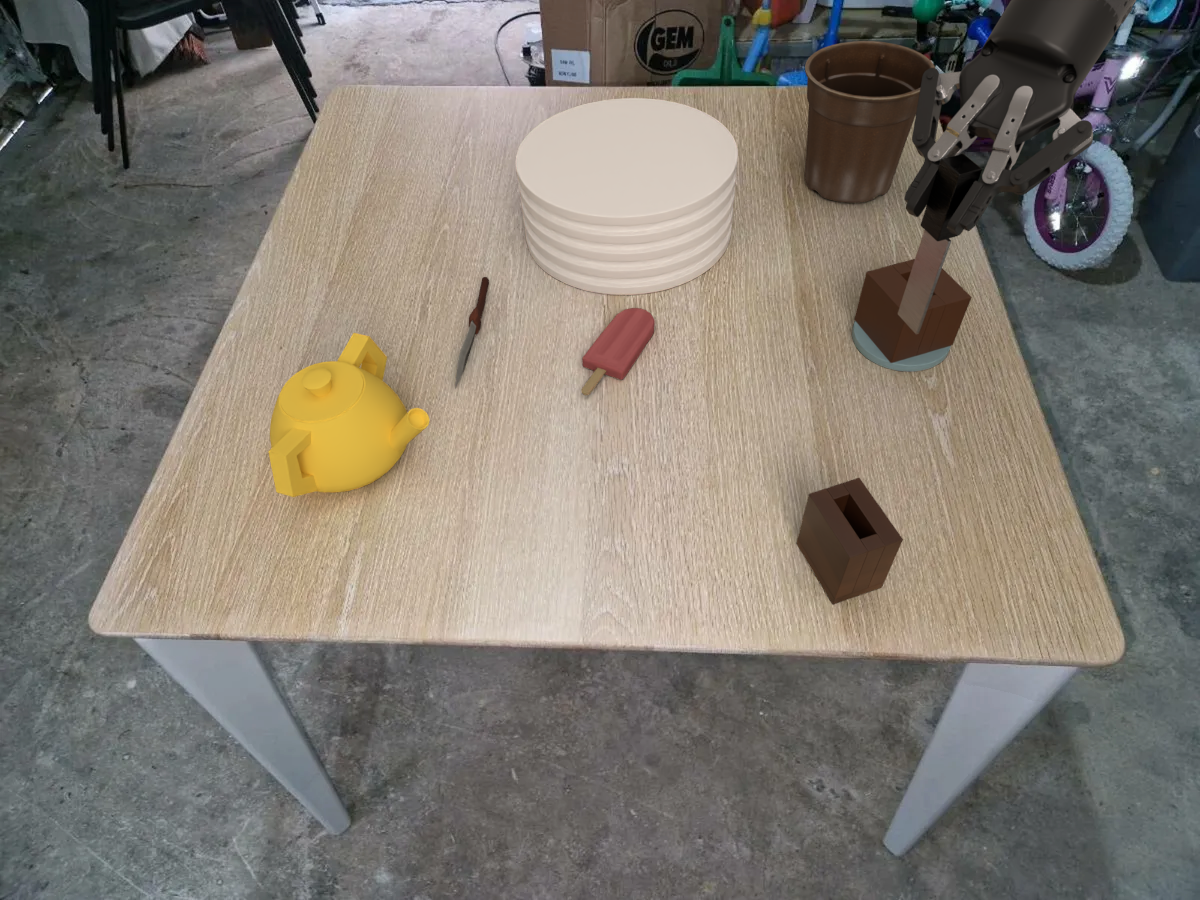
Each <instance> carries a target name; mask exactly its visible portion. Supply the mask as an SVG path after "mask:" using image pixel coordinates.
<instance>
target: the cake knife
mask: <svg viewBox="0 0 1200 900" xmlns="http://www.w3.org/2000/svg"><path fill="white" fill-rule="evenodd" d="M982 172H983V167H981V166H979V165H978V164H977V163H976V162H974V160H972V159H971V158H970V157H968V156H967V154H965V153H960V154H959V155H955V156H951V157H947V158H943V159H941V161H940V164H939V167H938V171H937V174H936V177H935V180H934V183H933V187H932V190H931V193H930V196H929V200H928V203H927V205H926V207H925V208H924V211H923V212H924V213H923V215H922V219H921V222H920V227H921V228H922V229H923V232H922V236H921V238H920V241H919V245H918V248H917V252H916V254H915V257H914V259H915V261H914V264H913V267H912V270H911V273H910V276H909V280H908V283H907V286H906V289H905V292H904V295H903V299H902V302H901V305H900V308H899V311H898V315H899V316H900V317H901V318H902V319H903V321H904V322H905V323H906V324H907V325H908V326H909V327H910V328H911V329H912V331H913V332H914V333H915V334H919V332H920V329H921V326H922V323H923V320H924V318H925V315H926V312H927V309H928V306H929V303H930V301H931V298H932V295H933V292H934V289H935V286H936V284H937V281H938V278H939V275H940V272H941V269H942V268H943V266H944V264H945V260H946V257H947V255H948V252H949V250H950V247H951V244H952V240H951V239H953V238H957V237H959V236H958V235H955V234H953V233H951V232H950V231H949V230H948V228H947V225H948V222H949V220H950V219H951V217H952V216H953V214H954V213H955V211H956V209H957V208H958V206H959V205H960V203H961V202H962V200H963V198H964V197H965V195H966V194H967V192H968V191H969V189H970V187H971V186H972V184H973V183H974V181H977V182H979V181H980V178H981V177H980V176H981V175H982Z"/></svg>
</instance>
